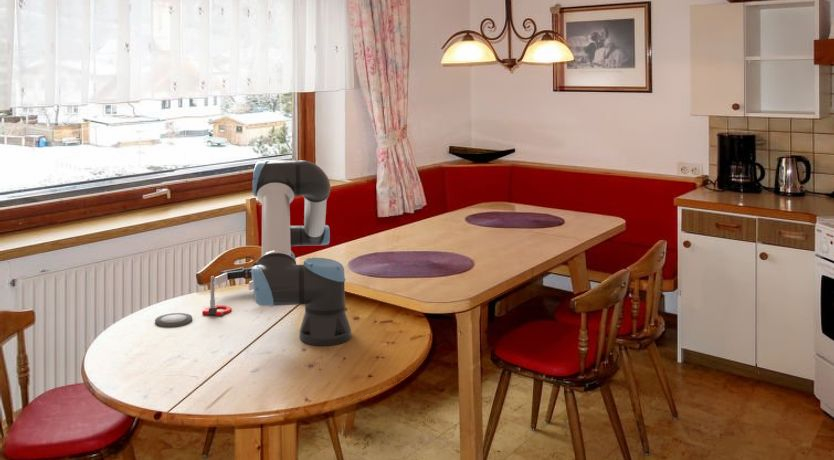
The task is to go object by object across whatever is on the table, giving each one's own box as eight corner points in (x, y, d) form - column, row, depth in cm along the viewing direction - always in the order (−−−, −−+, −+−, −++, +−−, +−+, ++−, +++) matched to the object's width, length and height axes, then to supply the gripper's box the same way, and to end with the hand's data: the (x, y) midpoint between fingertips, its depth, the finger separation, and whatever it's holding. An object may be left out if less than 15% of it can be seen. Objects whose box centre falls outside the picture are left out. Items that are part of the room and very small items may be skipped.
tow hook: (211, 307, 246) (199, 315, 237) (210, 269, 244) (198, 276, 235) (235, 309, 245) (224, 317, 236) (235, 271, 243) (223, 277, 234)
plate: (185, 327, 226) (185, 324, 226) (149, 326, 226) (149, 324, 226) (196, 315, 237) (196, 312, 236) (162, 315, 237) (162, 312, 236)
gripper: (297, 282, 264) (264, 299, 244) (237, 274, 272) (201, 290, 253) (296, 262, 262) (264, 277, 243) (236, 255, 271) (200, 269, 251)
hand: (232, 283), depth 248 cm, fingers open, 13 cm apart
